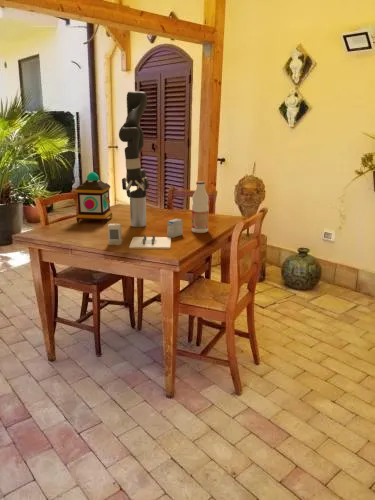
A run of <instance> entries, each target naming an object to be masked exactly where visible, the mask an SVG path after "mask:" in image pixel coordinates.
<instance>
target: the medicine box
mask: <svg viewBox="0 0 375 500" xmlns="http://www.w3.org/2000/svg"><path fill="white" fill-rule="evenodd" d="M183 222H184V221H183V219H181V218H173V219H170V220H167V222H166V223H167V225H166V228H167V229H166V230H167V234H166V235H167V236H166V237H171V239H172V238H176V237H179V236H183V228H184V227H183V226H184V224H183Z"/></svg>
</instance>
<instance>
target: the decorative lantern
mask: <svg viewBox="0 0 375 500" xmlns="http://www.w3.org/2000/svg"><path fill="white" fill-rule="evenodd" d="M110 188H111V185H110V184H108V182H104V181H102V180H101V179H100V177H99V175H98V174H97V173H96V172H95V171H91V172H89V173H88V174H87V176H86V180H85V181H84V182H83V183H82V184H80V185H78V186H77V187H76V188H75V189H74V190H75V192H76V196H77V207H78V209H77V210H78V213H77V216H76V222H77V224H80V222H81V220H99V221H100V220H101V221H102V224H103V225H105V224H106V219H108V217H109V218H110V219H112V218H113V212H112V210H111V207H110V205H111V200H110Z"/></svg>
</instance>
